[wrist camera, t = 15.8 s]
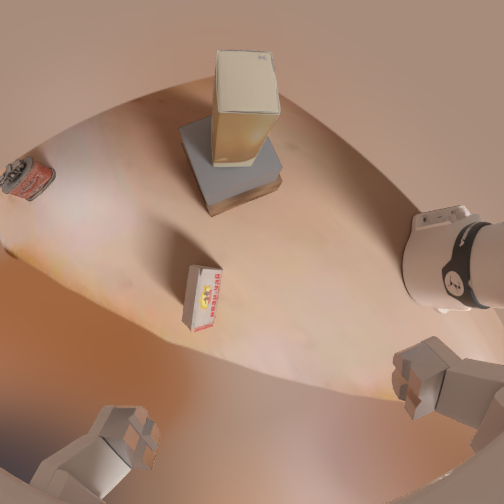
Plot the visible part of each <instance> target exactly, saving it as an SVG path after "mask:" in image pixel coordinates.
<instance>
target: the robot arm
mask: <svg viewBox="0 0 504 504" xmlns="http://www.w3.org/2000/svg"><path fill="white" fill-rule="evenodd" d="M423 218H424V221H423ZM403 277H404V282H405V285H406V288H407V290H408V292H409V294H410V296H411V297H412V298H413V299H414V300H415V301H416V302H417V303H418V304H420V305H422V306H426V307H432V308H434V309H435V310H436V311H437V312H439V313H443V314H445V313H447V312H448V310H463V311H468V310H470V309H471V307H472V308H475V309H488V308H490V307H495V308H501V309H504V222H502V223H497V224H491V223H486V222H484V220H483V218H482V217H481V216H480V215H479V214H473V215H471V214H470V213H469V211H468V210H467V208H466V207H465V206H464V205H461V206H454V207H450V208H444V209H440V210H434V211H429V212H424V213H419V214H416V215H414V217H413V220H412V232H411V235H410V238H409V240H408V242H407V244H406V247H405V251H404V256H403ZM393 364H394V366H395V367H396V369H395V370H394V372H393V373H392V385H393V389H394V391H395V394H396V395H397V397H398V399H400V400H403V401H405V407H404V408H405V409H406V411H407V413H408V414H409V416H410V417H411V419H412V420H413V421H414V420H416V419H418V418H420V417H423V416H425V415H427V414H429V413H431V412H433V411H435V410H436V412H438V413H440V414H442V415H445V416H447V417H449V418H451V419H454V420H456V421H458V422H461V423H463V424H465V425H468V426H470V427H473V428H475V429H477V432H476V434H475V435H474V437H473V439H472V441H471V444H470V446H471V447H472V449H473V450H474V452H475V454H474V455H473V456H471V457H470V458H468V459H467V460H466V461H464V462H463V463H461V464H460V465H458V466H457V467H455V468H453V469H452V470H450V471H449V472H447V473H445V474H444V475H442V476H440V477H438V478H437V479H435V480H433V481H431V482H429V483H428V484H426V485H424V486H422V487H420V488H418V489H416V490H414V491H412V492H410V493H408V494H406V495H403V496H401V497H399V498H397V499H394V500H392V501H390V502H387V503H385V504H504V365H499V364H493V363H488V362H482V361H477V360H472V359H467V358H465V359H464V360H462V359H461V358H460V357H458V356H457V355H456V354H455V353H454V352H453V351H452V350H451V349H450V348H449V347H447V346H446V345H445V344H444V343H443V342H442V341H441V340H440V339H438V338H437V337H435V336H432V337H430V338H428V339H426V340H424V341H422V342H421V343H418V344H416V345H413V346H411V347H409V348H407V349H404V350H402V351H400V352H397V353H395V354H394V357H393ZM159 442H160V432H159V429H158V427H157V425H156V424H155V422H153V421H152V420H150V419H149V418H148V412H147V411H146V410H145V408H144V407H141V406H120V405H117V406H113V405H106V406H104V407H103V408H102V409H101V411H100V413H99V415H98V416H97V418H96V420H95V422H94V423H93V425H92V427H91V429H90V431H89V432H88V434H87V435H83V436H81V437H80V438H78V439H77V440H75V441H74V442H72V443H71V444H69V445H68V446H66V447H64V448H63V449H61V450H60V451H58V452H57V453H55V454H53V455H52V456H50V457H49V458H47V459H45V460H44V461H42V462H41V464H40V466H39V468H38V469H37V471H36V473H35V475H34V476H33V478H32V480H31V482H30V484H27V483H25V482H23V481H21V480H20V479H18V478H16V477H15V476H13V475H11V474H10V473H8V472H6V471H5V470H3V469H2V468H0V504H107V503H105V502H103V501H102V500H101V499H102V498H103V497H104V496H105V495H106V494H107V493H108V492H109V491H111V489H113V488H114V486H115V485H117V484H118V483H119V482H120V481H121V480H122V479H123V478H124V476H126V475H127V473H128V472H129V471H130V470H131V468H132V469H145V470H152V468H153V464H154V461H155V457H156V455H155V453H154V450H155V449H156V448H157V447H158V446H159Z"/></svg>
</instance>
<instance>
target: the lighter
mask: <svg viewBox="0 0 504 504" xmlns="http://www.w3.org/2000/svg"><path fill="white" fill-rule="evenodd" d="M55 177H56V172H55V170H54V169H52V168H48V167H46V166H44V165H42V164H40V163H38V162H36V161H34V160H33V158H31V157H30V156H28V157H26V158H24V159H23V160H20V159H16V160H15V161H14V162H13V163H12V164H8V165H7V166H6V171H5V172H4V173H3V174H2V175H1V176H0V187H2V192H3V193H6V194H12V195H15V196H18V197H22V198H25V199H26V200H27V201H32V200H34V199H35V198H37V197H38V196H39V195H41V194H42V193H43V192H44V191H45V190H46V189H47V188H48V187H49V186H50V185H51V183H52V182H53V181H54V180H55Z"/></svg>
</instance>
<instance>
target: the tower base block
mask: <svg viewBox="0 0 504 504" xmlns="http://www.w3.org/2000/svg"><path fill="white" fill-rule="evenodd" d="M182 147H183V149H184V152H185V154H186V157H187V159H188V162H189V164H190V167H191V169H192V172H193V174H194V177H195V179H196V182H197V184H198V187H199V189H200V192H201V194H202V197H203V199H204V201H205V204H206V206H207V209H208V211H209V213H210V215H211V217H213V216H215V215H218V214H220V213H222V212H225V211H227V210H230V209H232V208H234V207H237V206H239V205H242V204H244V203H247V202H249V201H252V200H254V199H257V198H259V197H262V196H264V195H267V194H269V193H272V192H274V191H277V189H278V188H279V186H280V184H281V183H282V179H281V177H280V175H278V177H277V179H276V181H273V182H270V183H267V184H264V185H262V186H259V187H256V188H254V189H251V190H248V191H246V192H243V193H240V194H238V195H235V196H232V197H230V198H227V199H225V200H222V201H220V202H217V203H215V204H212V205H210V206H208V204H207V202H206V200H205V197H204V195H203V192H202V190H201V187H200V185H199V182H198V179H197V177H196V174H195V172H194V169H193V166H192V164H191V161H190V158H189V156H188V153H187V150H186V148H185V145H184V143H182Z"/></svg>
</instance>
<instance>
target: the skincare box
mask: <svg viewBox="0 0 504 504" xmlns="http://www.w3.org/2000/svg"><path fill="white" fill-rule="evenodd" d="M280 113H281V111H280V102H279V95H278V87H277V80H276V75H275V68H274V62H273V56H272V53H271V52H264V51H250V50H218V51H217V55H216V68H215V81H214V93H213V106H212V120H211V146H212V161H213V167H248V166H252V164H253V162H254V160H255V158H256V156H257V155H258V153H259V151H260V149H261V147H262V145H263V144H264V142H265V140H266V138H267V136H268V135H269V133H270V131H271V129H272V127H273V126H274V124H275V122H276V120H277V119H278V117H279V115H280Z"/></svg>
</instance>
